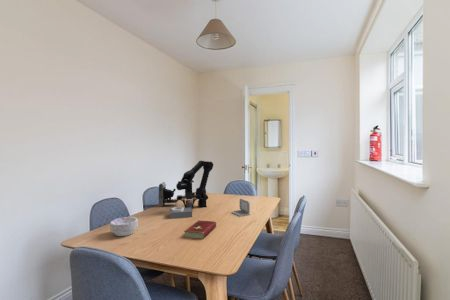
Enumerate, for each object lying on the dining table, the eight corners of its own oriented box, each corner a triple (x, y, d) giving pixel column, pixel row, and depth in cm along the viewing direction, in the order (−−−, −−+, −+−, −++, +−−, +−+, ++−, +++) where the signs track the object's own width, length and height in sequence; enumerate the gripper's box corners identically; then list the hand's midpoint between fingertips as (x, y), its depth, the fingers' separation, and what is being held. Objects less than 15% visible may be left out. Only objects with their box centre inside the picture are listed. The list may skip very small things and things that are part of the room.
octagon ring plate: (190, 212, 192) (190, 205, 192) (192, 216, 180) (192, 209, 180) (169, 214, 189) (169, 206, 189) (169, 218, 177) (169, 210, 177)
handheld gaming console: (230, 212, 191) (230, 199, 190) (241, 210, 195) (240, 198, 195) (239, 216, 179) (239, 202, 179) (250, 214, 183) (250, 201, 183)
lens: (192, 209, 202) (191, 199, 202) (192, 211, 197) (192, 200, 197) (185, 209, 201) (185, 200, 201) (185, 211, 196) (185, 201, 196)
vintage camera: (176, 207, 212) (176, 183, 212) (158, 206, 212) (158, 183, 212) (178, 204, 221) (179, 182, 221) (161, 204, 222) (161, 182, 222)
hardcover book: (216, 227, 157) (216, 221, 157) (203, 239, 137) (203, 232, 137) (198, 226, 161) (198, 219, 160) (184, 238, 140) (183, 230, 140)
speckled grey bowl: (123, 239, 138) (122, 225, 138) (104, 235, 145) (104, 222, 145) (143, 231, 151) (143, 218, 151) (125, 227, 158) (125, 215, 158)
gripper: (176, 190, 189) (177, 211, 189) (201, 189, 192) (201, 209, 193) (176, 188, 199) (177, 207, 200) (199, 187, 203) (200, 206, 204)
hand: (188, 207), depth 199 cm, fingers open, 5 cm apart
